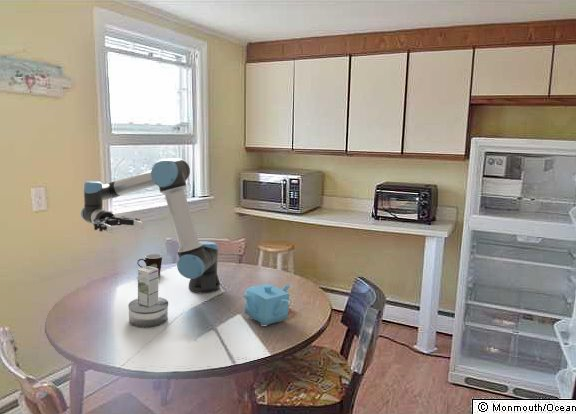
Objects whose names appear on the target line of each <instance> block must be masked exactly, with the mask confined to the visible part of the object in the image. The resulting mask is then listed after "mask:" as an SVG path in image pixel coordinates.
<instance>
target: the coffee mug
mask: <svg viewBox="0 0 576 414" xmlns="http://www.w3.org/2000/svg"><path fill="white" fill-rule="evenodd" d="M140 261H144V263H145V267H146V266H149V267H154V268H158V277H159V276H160V275H161V270H162V269H161V268H162V261H163V255H162V254H160V253H159V254H158V253H149V254H146V255H145V256H144V258H140V259H138V260H137V262H136V263H137V265H138V266H139V267H140V268H143V267H144V266H142V265H140V263H139V262H140Z"/></svg>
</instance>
